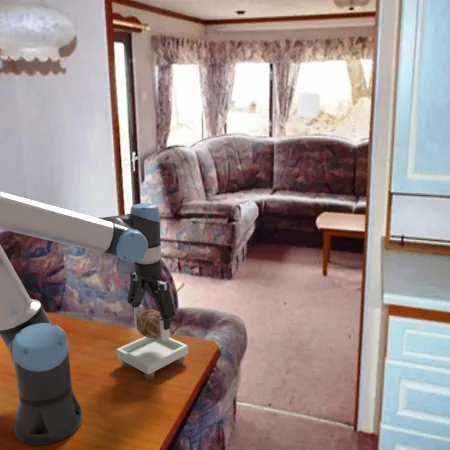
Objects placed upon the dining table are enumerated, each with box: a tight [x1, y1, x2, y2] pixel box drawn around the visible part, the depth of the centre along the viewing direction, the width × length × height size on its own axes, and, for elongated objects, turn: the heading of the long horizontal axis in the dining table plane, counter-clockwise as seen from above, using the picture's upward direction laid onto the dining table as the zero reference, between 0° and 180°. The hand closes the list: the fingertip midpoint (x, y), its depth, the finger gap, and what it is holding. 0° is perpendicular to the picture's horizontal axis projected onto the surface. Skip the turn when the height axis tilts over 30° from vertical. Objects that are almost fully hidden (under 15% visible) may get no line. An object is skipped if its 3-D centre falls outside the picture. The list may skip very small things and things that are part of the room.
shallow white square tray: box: [115, 336, 189, 381], centre depth 145 cm, size 15×14×5 cm
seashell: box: [136, 309, 162, 339], centre depth 143 cm, size 10×9×10 cm
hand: (152, 333), depth 143 cm, fingers closed on seashell, 11 cm apart
